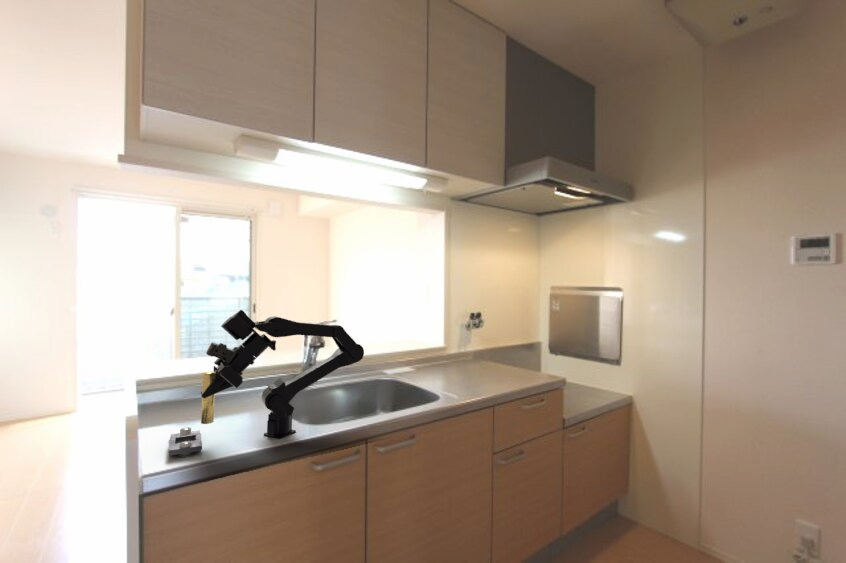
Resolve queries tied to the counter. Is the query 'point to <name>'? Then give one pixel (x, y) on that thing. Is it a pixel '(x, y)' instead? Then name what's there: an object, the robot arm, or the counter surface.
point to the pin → (207, 400)
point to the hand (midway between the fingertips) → (202, 395)
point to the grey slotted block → (185, 442)
